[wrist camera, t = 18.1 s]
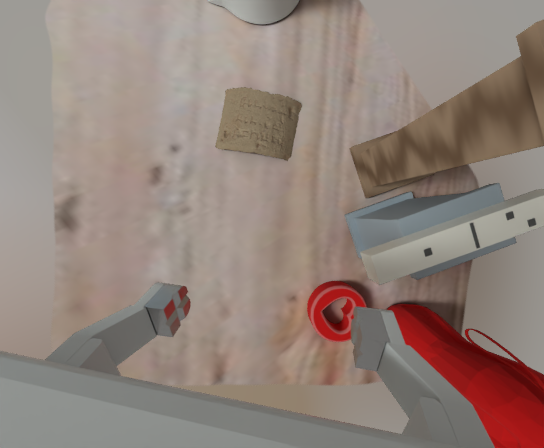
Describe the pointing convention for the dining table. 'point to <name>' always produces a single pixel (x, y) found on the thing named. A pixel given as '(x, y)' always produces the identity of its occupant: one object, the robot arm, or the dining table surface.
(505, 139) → the walnut pedestal
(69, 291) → the dining table surface
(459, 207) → the slate stand
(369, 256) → the domino bar
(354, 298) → the decorative ornament
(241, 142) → the clay tablet
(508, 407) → the water bottle
